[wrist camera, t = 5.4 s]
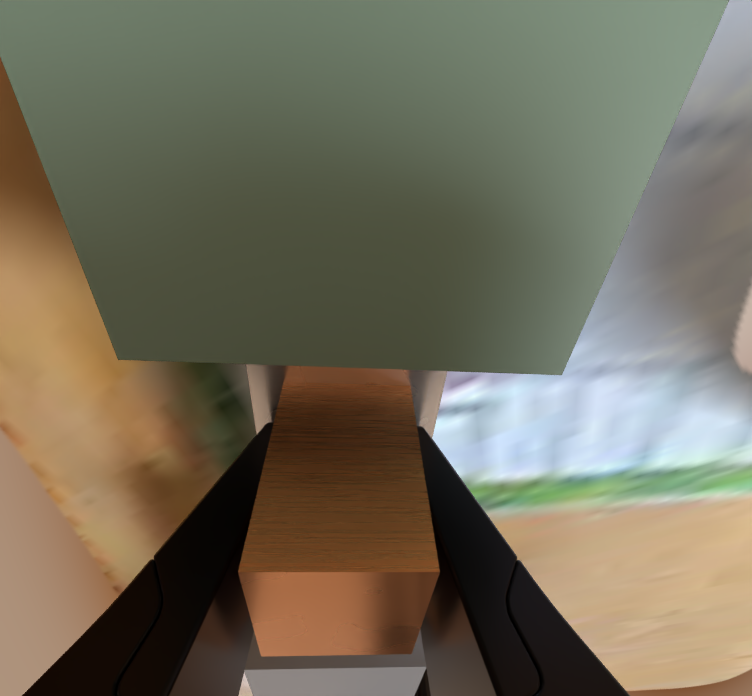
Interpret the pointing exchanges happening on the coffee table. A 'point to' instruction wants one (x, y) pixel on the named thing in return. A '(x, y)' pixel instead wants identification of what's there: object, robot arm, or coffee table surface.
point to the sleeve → (335, 674)
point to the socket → (351, 168)
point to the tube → (341, 510)
